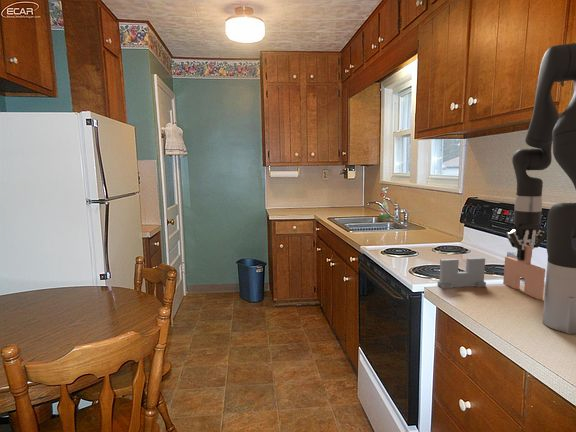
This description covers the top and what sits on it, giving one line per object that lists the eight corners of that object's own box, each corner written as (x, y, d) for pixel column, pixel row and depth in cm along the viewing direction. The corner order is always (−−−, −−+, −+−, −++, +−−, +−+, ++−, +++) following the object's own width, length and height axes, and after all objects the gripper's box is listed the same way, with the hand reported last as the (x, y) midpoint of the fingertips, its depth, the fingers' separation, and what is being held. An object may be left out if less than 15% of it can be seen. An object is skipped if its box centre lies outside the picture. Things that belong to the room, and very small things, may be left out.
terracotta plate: (542, 299, 113) (546, 250, 111) (538, 299, 113) (542, 250, 111) (507, 283, 129) (510, 240, 127) (503, 283, 129) (506, 240, 127)
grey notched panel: (478, 282, 130) (480, 256, 129) (485, 286, 126) (487, 259, 125) (437, 285, 129) (438, 258, 127) (443, 288, 125) (444, 261, 123)
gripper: (516, 211, 113) (513, 263, 115) (556, 210, 114) (551, 262, 117) (500, 208, 120) (497, 258, 123) (537, 207, 122) (534, 256, 124)
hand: (524, 259), depth 120 cm, fingers closed on terracotta plate, 1 cm apart
